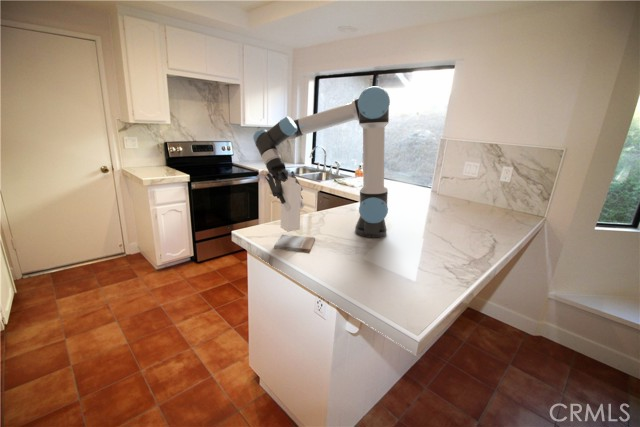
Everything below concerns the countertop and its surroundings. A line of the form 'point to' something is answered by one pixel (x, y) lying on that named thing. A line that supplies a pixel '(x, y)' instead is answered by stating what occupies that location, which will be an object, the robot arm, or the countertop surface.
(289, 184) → the milk
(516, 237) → the countertop surface
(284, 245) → the board
